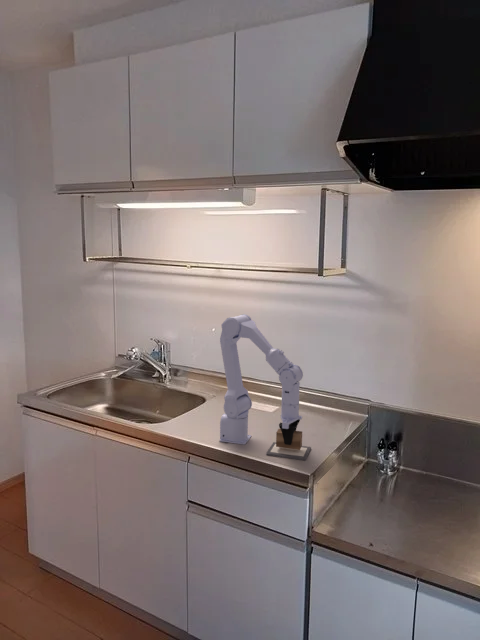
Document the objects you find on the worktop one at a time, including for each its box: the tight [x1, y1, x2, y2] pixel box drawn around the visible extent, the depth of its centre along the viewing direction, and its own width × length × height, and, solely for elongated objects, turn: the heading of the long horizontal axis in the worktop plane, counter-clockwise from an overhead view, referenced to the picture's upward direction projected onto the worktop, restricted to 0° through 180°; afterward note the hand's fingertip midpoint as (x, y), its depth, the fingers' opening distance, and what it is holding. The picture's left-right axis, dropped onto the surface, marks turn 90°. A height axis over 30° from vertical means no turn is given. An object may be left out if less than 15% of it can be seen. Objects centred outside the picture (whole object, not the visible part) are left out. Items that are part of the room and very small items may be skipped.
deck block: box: [275, 428, 303, 450], centre depth 171 cm, size 4×8×5 cm, turn 73°
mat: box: [265, 441, 312, 461], centre depth 171 cm, size 13×10×1 cm
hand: (289, 442), depth 171 cm, fingers closed on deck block, 3 cm apart
